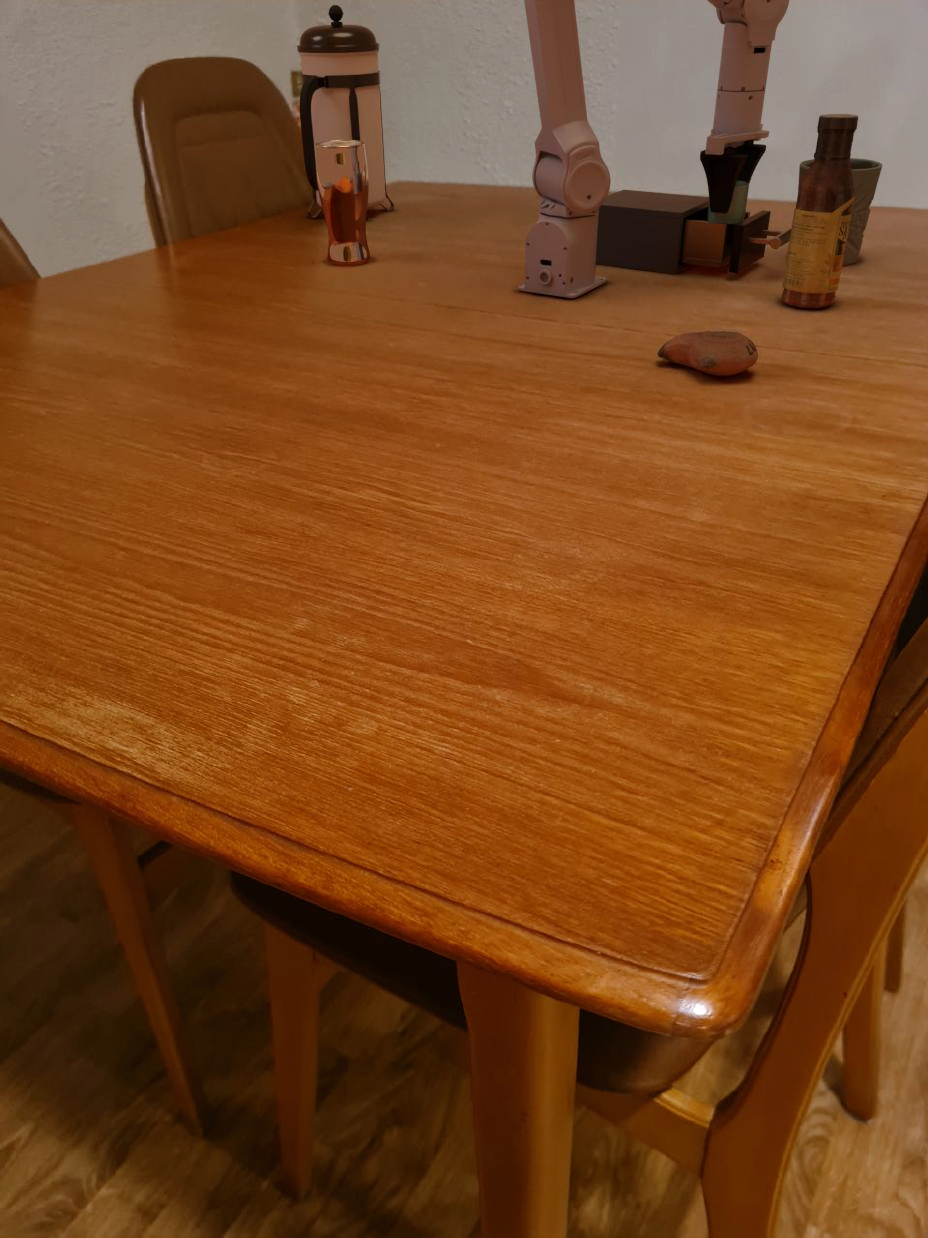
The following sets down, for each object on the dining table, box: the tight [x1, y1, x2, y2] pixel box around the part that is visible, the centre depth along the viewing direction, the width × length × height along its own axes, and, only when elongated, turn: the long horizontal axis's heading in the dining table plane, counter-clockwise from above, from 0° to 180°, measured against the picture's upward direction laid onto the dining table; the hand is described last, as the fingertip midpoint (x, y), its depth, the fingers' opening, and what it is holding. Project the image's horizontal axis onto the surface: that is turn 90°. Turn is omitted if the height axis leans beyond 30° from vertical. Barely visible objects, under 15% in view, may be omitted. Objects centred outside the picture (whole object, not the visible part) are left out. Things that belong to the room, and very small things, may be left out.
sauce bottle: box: [781, 113, 859, 309], centre depth 108 cm, size 7×6×20 cm
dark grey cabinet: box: [596, 189, 709, 275], centre depth 131 cm, size 14×12×8 cm
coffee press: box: [296, 4, 395, 222], centre depth 153 cm, size 17×16×30 cm
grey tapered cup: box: [797, 157, 883, 266], centre depth 128 cm, size 10×10×12 cm
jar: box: [707, 181, 750, 224], centre depth 123 cm, size 5×5×4 cm
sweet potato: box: [656, 329, 759, 377], centre depth 94 cm, size 9×4×8 cm
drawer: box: [679, 208, 791, 274], centre depth 126 cm, size 17×10×6 cm, turn 57°
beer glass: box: [315, 140, 372, 267], centre depth 131 cm, size 7×7×15 cm
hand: (726, 208), depth 124 cm, fingers closed on jar, 4 cm apart
